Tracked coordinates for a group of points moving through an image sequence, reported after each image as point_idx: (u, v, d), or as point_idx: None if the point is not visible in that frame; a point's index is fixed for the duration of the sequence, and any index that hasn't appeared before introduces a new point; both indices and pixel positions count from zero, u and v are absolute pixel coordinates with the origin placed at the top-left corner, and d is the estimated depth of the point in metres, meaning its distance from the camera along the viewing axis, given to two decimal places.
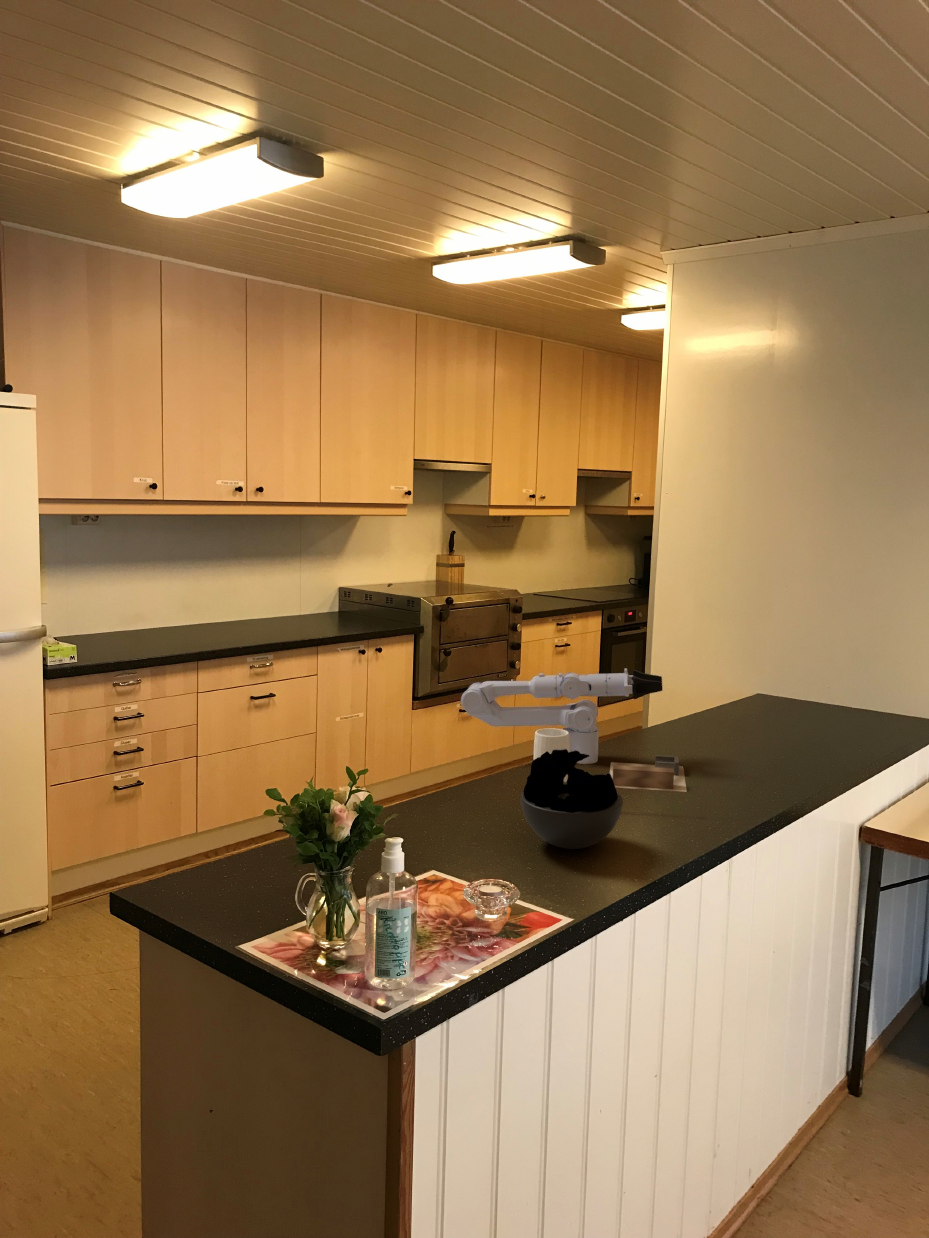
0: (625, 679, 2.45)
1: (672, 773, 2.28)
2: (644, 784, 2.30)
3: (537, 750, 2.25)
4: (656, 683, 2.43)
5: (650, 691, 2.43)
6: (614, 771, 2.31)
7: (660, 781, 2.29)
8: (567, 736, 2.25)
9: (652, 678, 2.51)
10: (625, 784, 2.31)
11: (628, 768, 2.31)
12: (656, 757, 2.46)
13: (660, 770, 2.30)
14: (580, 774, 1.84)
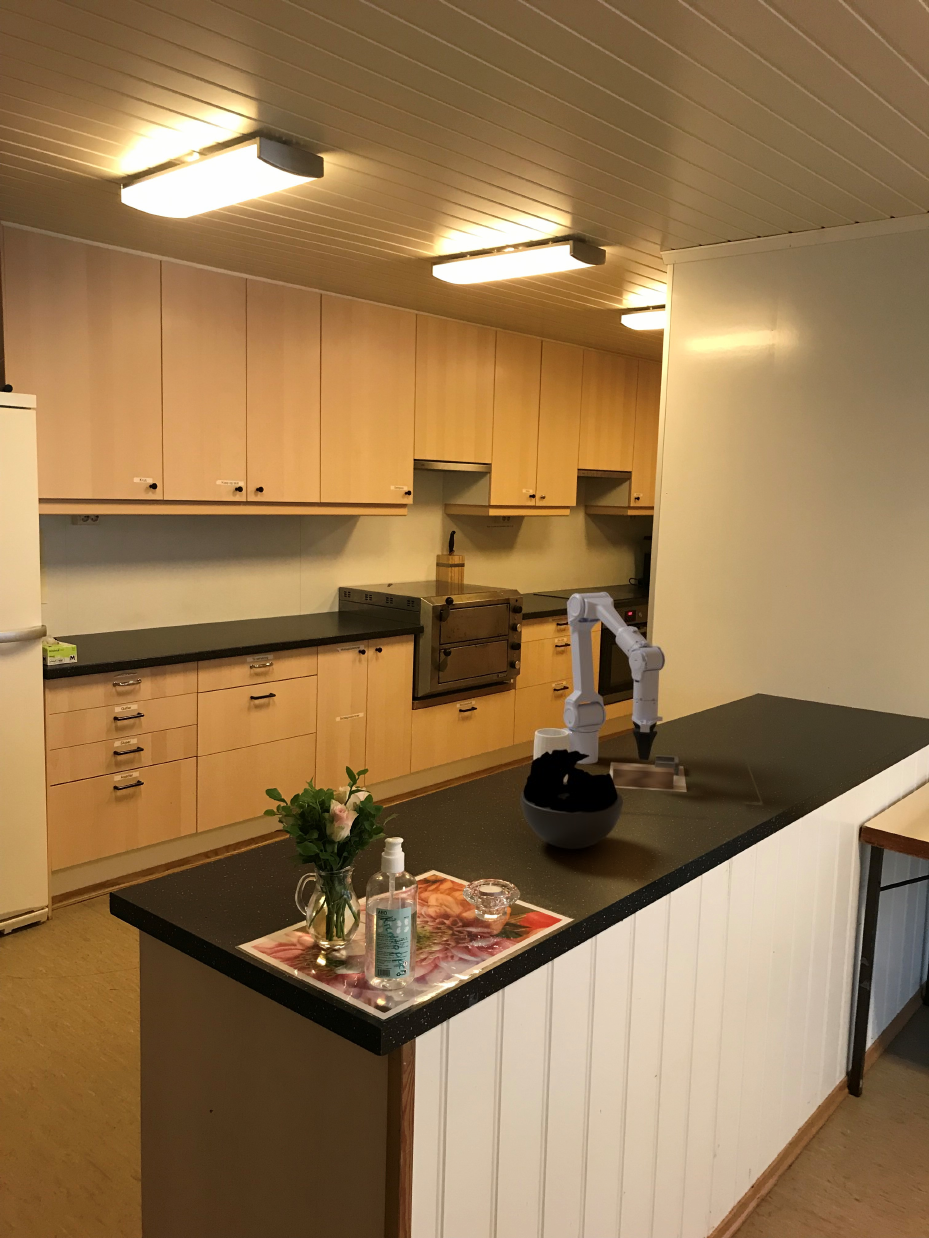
0: (653, 721, 2.26)
1: (672, 773, 2.28)
2: (644, 784, 2.30)
3: (537, 750, 2.25)
4: (647, 754, 2.26)
5: (639, 747, 2.26)
6: (614, 771, 2.31)
7: (660, 781, 2.29)
8: (567, 736, 2.25)
9: None
10: (625, 784, 2.31)
11: (628, 768, 2.31)
12: (656, 757, 2.46)
13: (660, 770, 2.30)
14: (580, 774, 1.84)
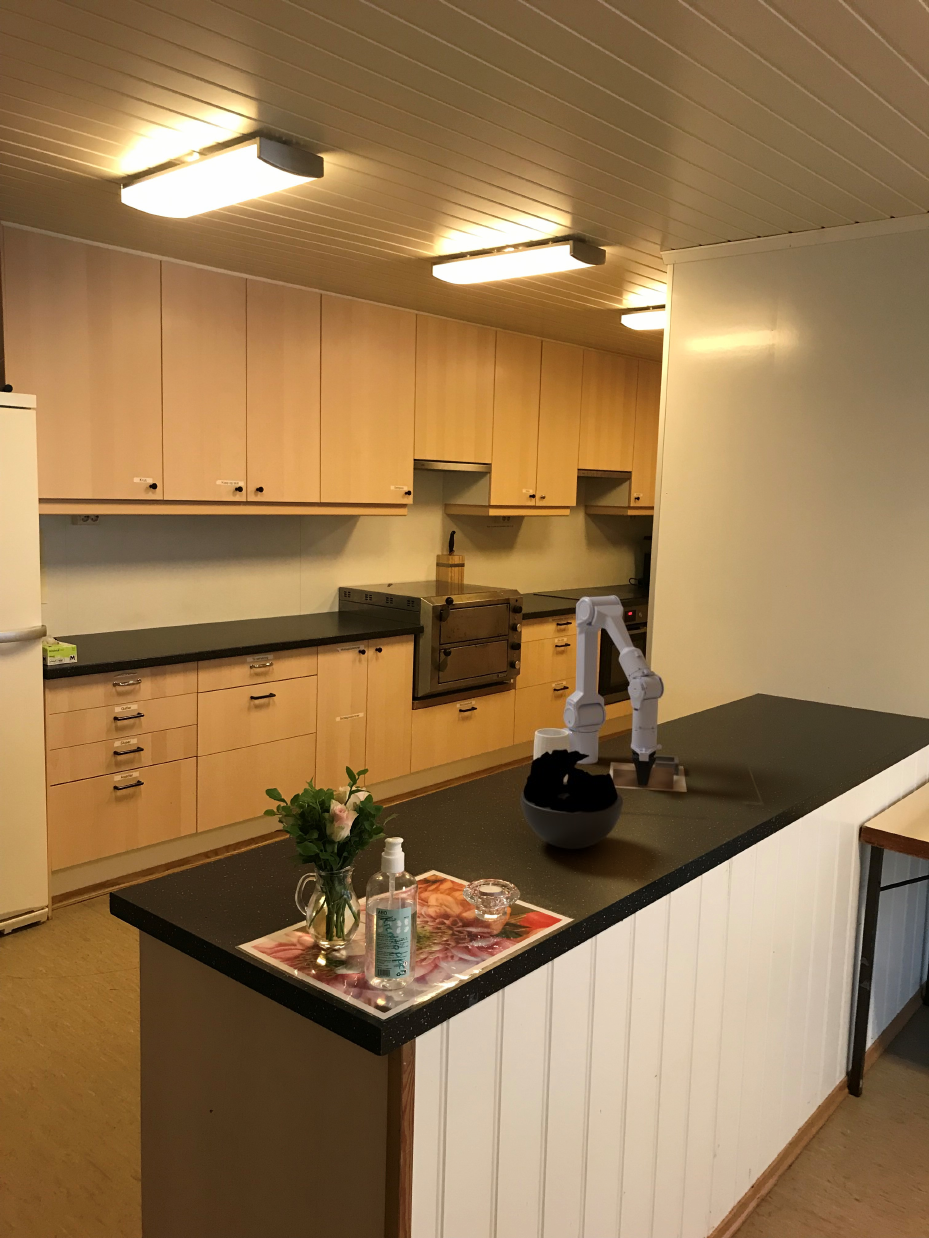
0: (652, 750, 2.27)
1: (672, 773, 2.28)
2: None
3: (537, 750, 2.25)
4: (646, 780, 2.29)
5: (638, 773, 2.29)
6: (614, 771, 2.31)
7: (660, 781, 2.29)
8: (567, 736, 2.25)
9: None
10: (625, 784, 2.31)
11: (628, 768, 2.31)
12: (656, 757, 2.46)
13: (660, 770, 2.30)
14: (580, 774, 1.84)
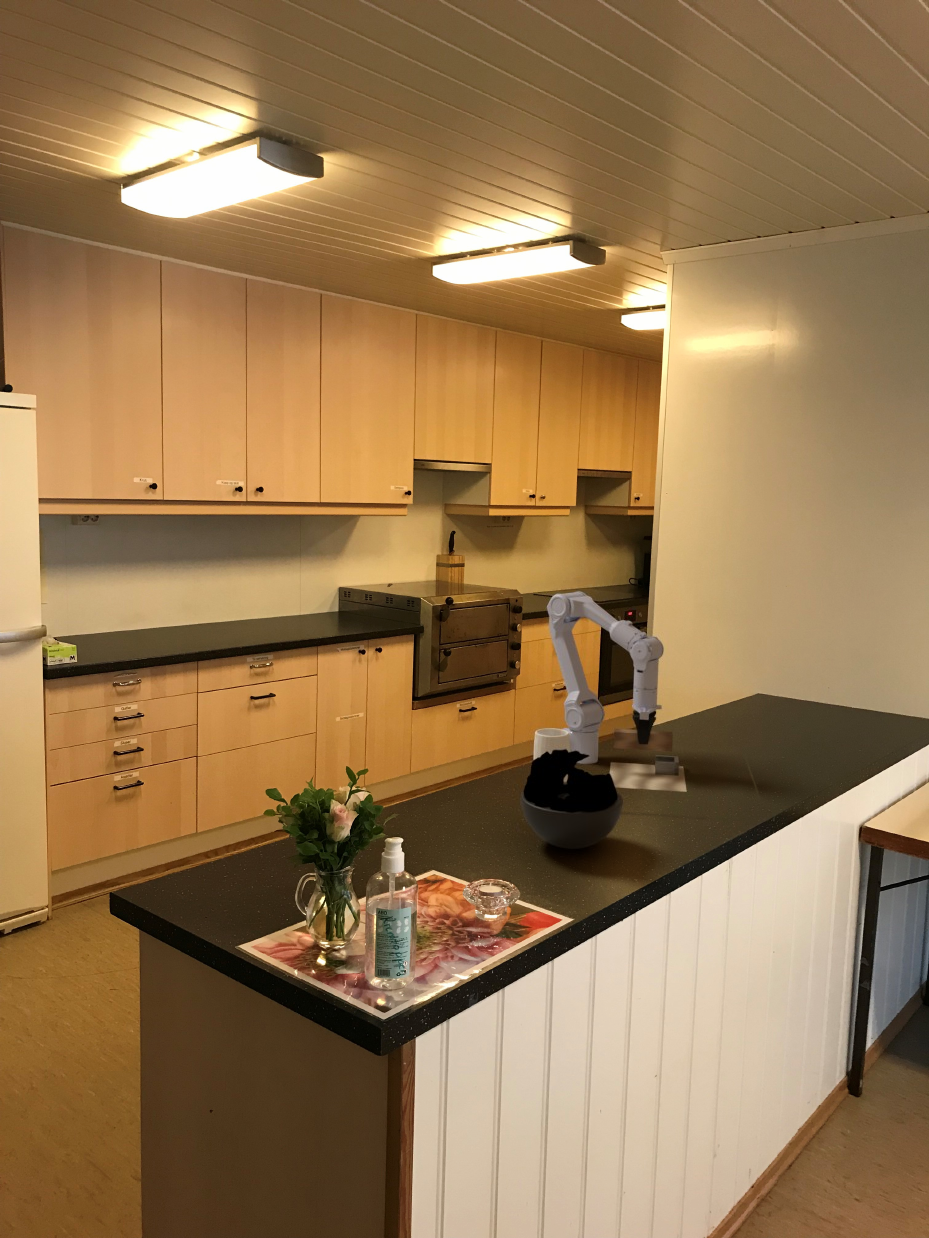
0: (652, 709, 2.35)
1: (671, 736, 2.37)
2: (644, 746, 2.38)
3: (537, 750, 2.25)
4: (647, 739, 2.37)
5: (639, 732, 2.37)
6: (615, 734, 2.39)
7: (659, 743, 2.37)
8: (567, 736, 2.25)
9: None
10: (626, 747, 2.39)
11: (629, 731, 2.40)
12: (656, 757, 2.46)
13: (659, 733, 2.38)
14: (580, 774, 1.84)
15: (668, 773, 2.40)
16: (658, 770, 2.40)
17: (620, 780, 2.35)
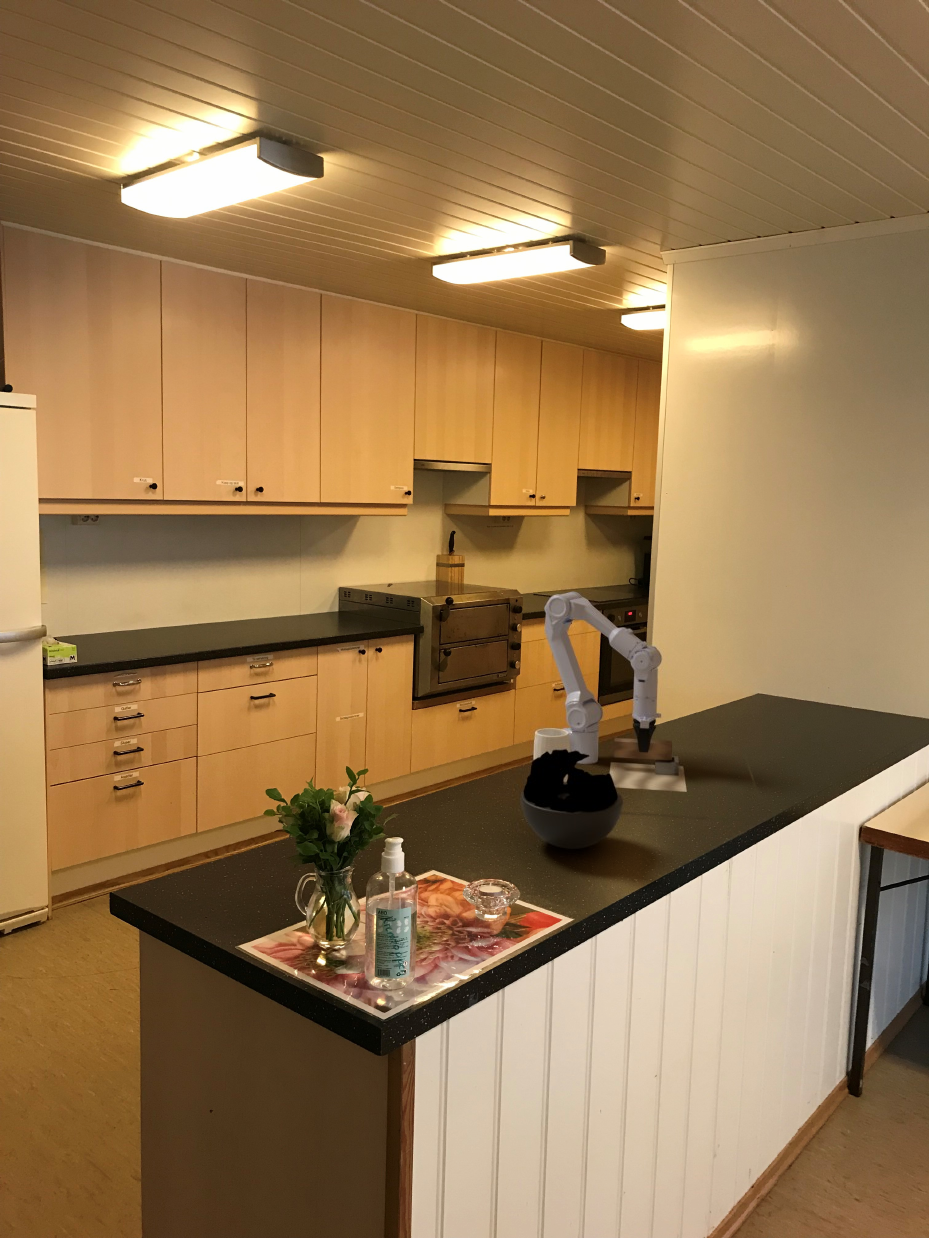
0: (652, 718, 2.39)
1: (670, 745, 2.41)
2: (644, 755, 2.42)
3: (537, 750, 2.25)
4: (647, 747, 2.41)
5: (639, 740, 2.41)
6: (615, 743, 2.43)
7: (659, 752, 2.41)
8: (567, 736, 2.25)
9: None
10: (626, 756, 2.43)
11: (629, 740, 2.44)
12: None
13: (659, 742, 2.42)
14: (580, 774, 1.84)
15: (668, 773, 2.40)
16: (658, 770, 2.40)
17: (620, 780, 2.35)
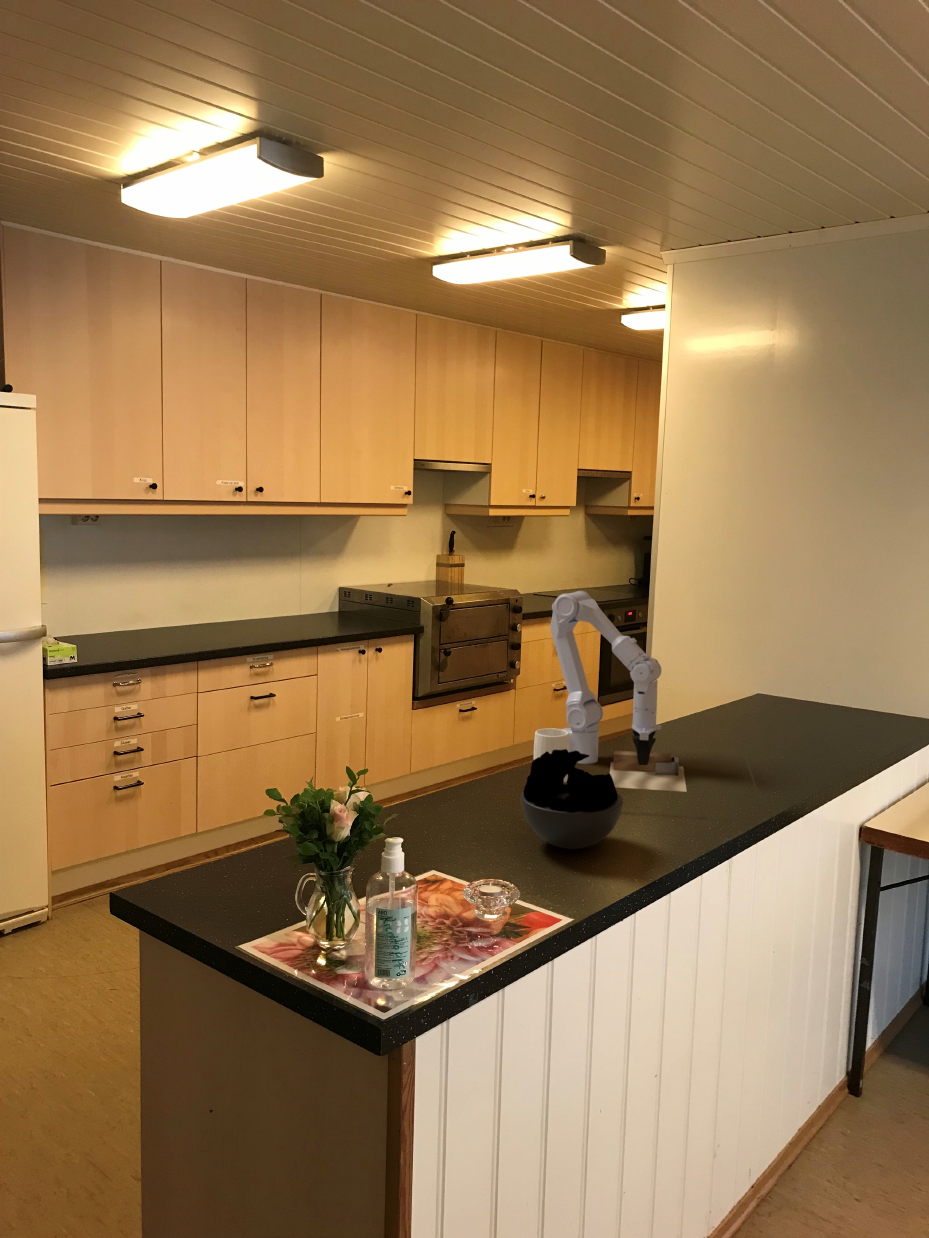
0: (652, 730, 2.39)
1: (670, 758, 2.41)
2: (643, 768, 2.43)
3: (537, 750, 2.25)
4: (646, 759, 2.40)
5: (638, 753, 2.40)
6: (615, 756, 2.44)
7: None
8: (567, 736, 2.25)
9: None
10: (625, 768, 2.43)
11: (628, 753, 2.44)
12: None
13: (658, 755, 2.43)
14: (580, 774, 1.84)
15: (668, 773, 2.40)
16: (658, 770, 2.40)
17: (620, 780, 2.35)
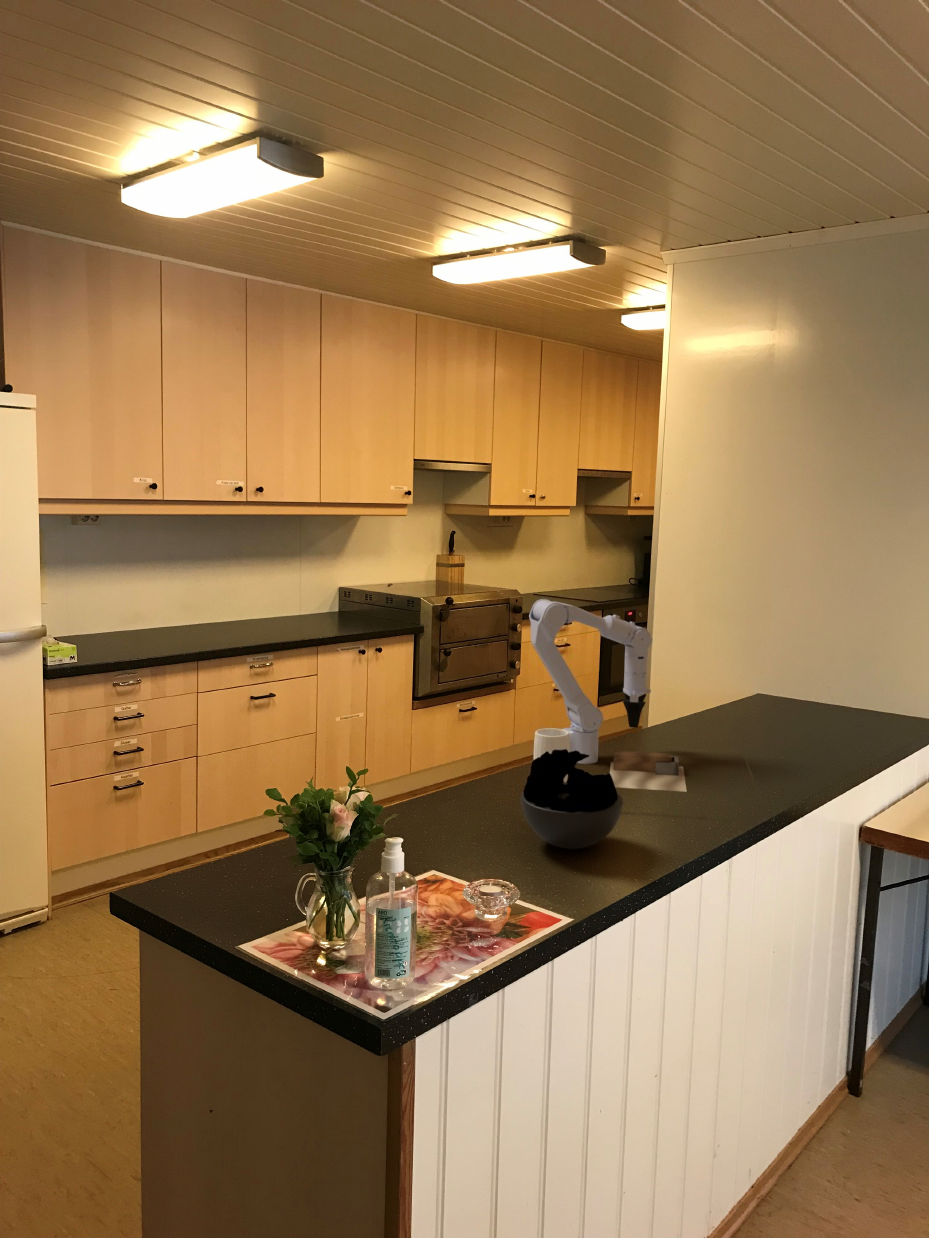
0: (642, 693, 2.51)
1: (670, 758, 2.41)
2: (643, 768, 2.43)
3: (537, 750, 2.25)
4: (637, 722, 2.51)
5: (629, 716, 2.51)
6: (615, 756, 2.44)
7: None
8: (567, 736, 2.25)
9: None
10: (625, 768, 2.43)
11: (628, 753, 2.44)
12: None
13: (658, 755, 2.43)
14: (580, 774, 1.84)
15: (668, 773, 2.40)
16: (658, 770, 2.40)
17: (620, 780, 2.35)
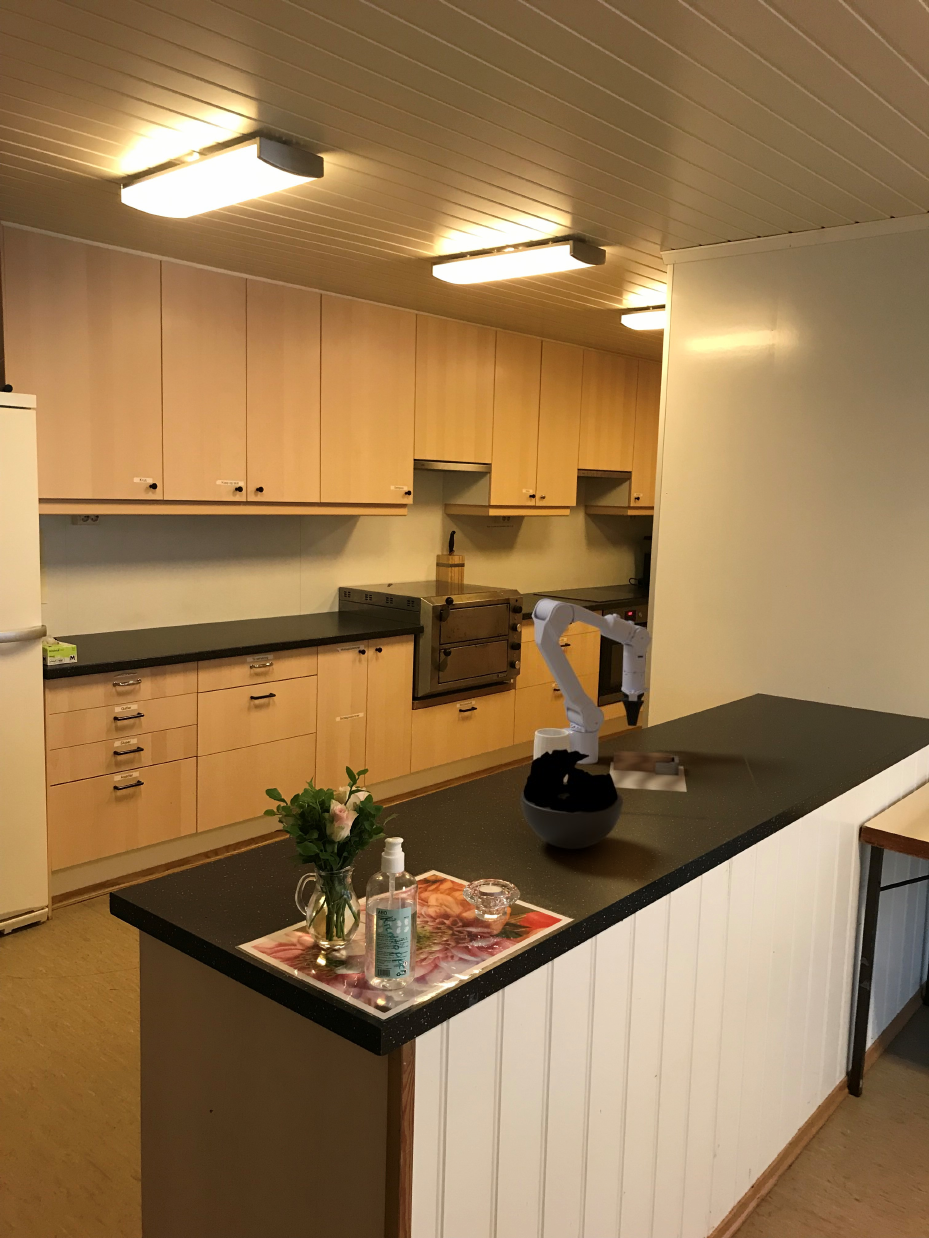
0: (640, 691, 2.52)
1: (670, 758, 2.41)
2: (643, 768, 2.43)
3: (537, 750, 2.25)
4: (635, 720, 2.53)
5: (628, 714, 2.53)
6: (615, 756, 2.44)
7: None
8: (567, 736, 2.25)
9: None
10: (625, 768, 2.43)
11: (628, 753, 2.44)
12: None
13: (658, 755, 2.43)
14: (580, 774, 1.84)
15: (668, 773, 2.40)
16: (658, 770, 2.40)
17: (620, 780, 2.35)
